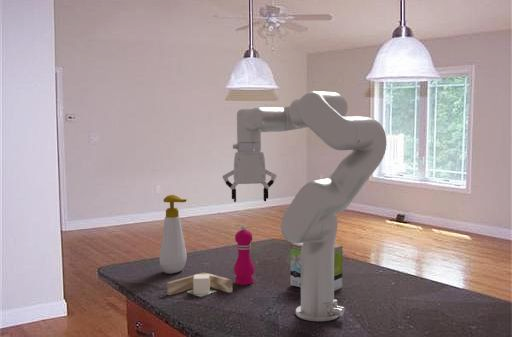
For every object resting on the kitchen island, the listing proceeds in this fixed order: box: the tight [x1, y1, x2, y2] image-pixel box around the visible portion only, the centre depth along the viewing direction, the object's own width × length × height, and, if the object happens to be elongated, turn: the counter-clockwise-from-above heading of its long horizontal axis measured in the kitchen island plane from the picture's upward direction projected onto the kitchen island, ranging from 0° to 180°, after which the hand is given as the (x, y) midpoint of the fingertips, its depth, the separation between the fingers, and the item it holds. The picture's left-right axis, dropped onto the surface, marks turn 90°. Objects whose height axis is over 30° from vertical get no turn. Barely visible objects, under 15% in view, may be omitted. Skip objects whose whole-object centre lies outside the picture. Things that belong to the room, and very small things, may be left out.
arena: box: [166, 272, 233, 298], centre depth 176 cm, size 14×16×4 cm
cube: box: [192, 273, 211, 295], centre depth 177 cm, size 5×5×5 cm
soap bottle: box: [159, 194, 188, 275], centre depth 201 cm, size 13×10×29 cm
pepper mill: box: [233, 225, 255, 286], centre depth 187 cm, size 7×7×20 cm
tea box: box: [289, 243, 343, 292], centre depth 181 cm, size 15×10×15 cm, turn 47°
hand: (250, 201), depth 173 cm, fingers open, 9 cm apart
